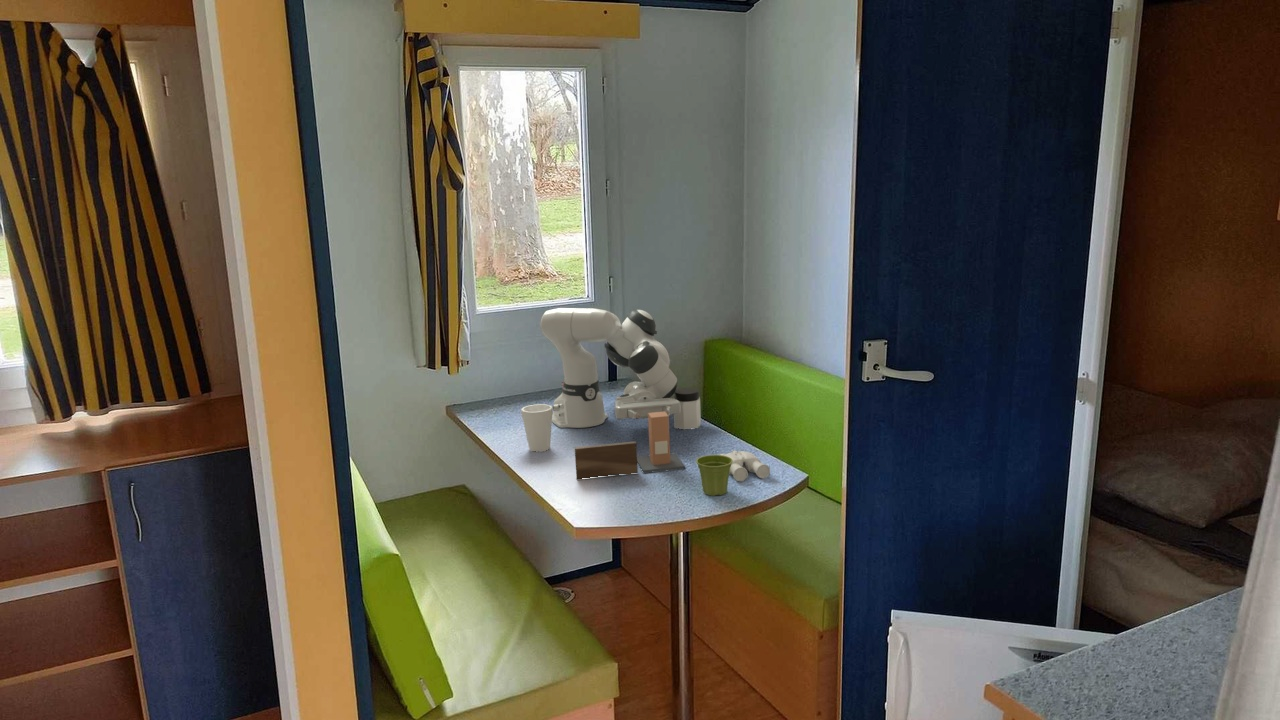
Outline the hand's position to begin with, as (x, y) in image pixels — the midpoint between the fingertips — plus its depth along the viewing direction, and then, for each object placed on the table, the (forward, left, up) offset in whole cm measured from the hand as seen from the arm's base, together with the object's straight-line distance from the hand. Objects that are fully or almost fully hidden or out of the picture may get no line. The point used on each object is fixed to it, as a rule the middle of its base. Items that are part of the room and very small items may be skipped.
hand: (652, 414), depth 266 cm
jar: (-14, +23, -12) cm, 29 cm away
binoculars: (+30, +9, -12) cm, 34 cm away
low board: (+9, -22, -11) cm, 27 cm away
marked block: (+11, -5, -11) cm, 16 cm away
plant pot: (+38, -7, -12) cm, 41 cm away
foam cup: (-26, -25, -12) cm, 38 cm away
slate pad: (+11, -5, -11) cm, 17 cm away
